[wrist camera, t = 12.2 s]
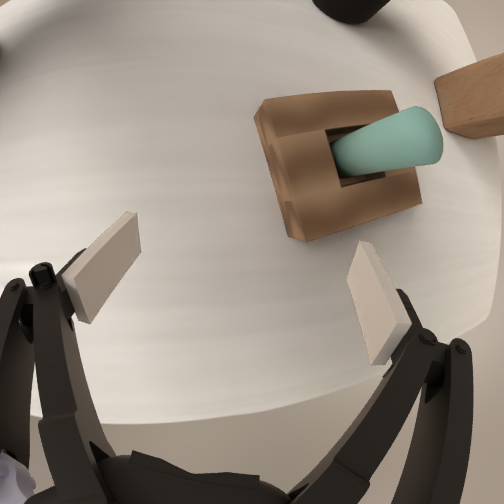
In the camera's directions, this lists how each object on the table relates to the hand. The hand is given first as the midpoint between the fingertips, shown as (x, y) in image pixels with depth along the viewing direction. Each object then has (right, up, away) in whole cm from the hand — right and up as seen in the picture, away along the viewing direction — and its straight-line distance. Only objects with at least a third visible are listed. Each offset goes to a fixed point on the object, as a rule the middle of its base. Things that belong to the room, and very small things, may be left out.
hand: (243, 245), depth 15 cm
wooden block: (+36, +25, +18) cm, 47 cm away
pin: (+10, +10, +13) cm, 20 cm away
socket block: (+10, +10, +15) cm, 21 cm away
